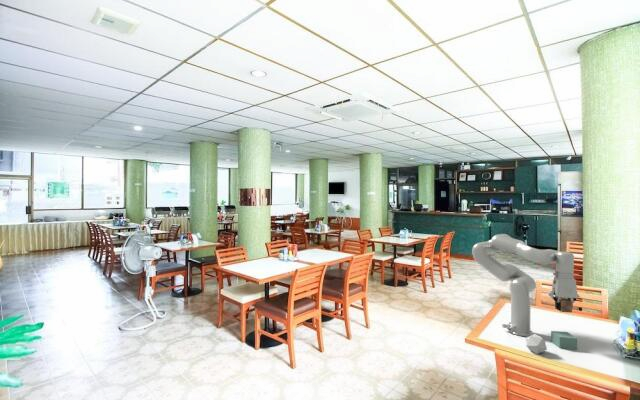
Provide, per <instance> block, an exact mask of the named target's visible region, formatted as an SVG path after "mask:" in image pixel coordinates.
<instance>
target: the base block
mask: <svg viewBox="0 0 640 400" xmlns="http://www.w3.org/2000/svg"><path fill="white" fill-rule="evenodd" d="M550 335H551V337H550V341H551V343H552V344H553V345H555V346H556V347H558V349H563V350H572V351H573V350H575V351H576V350H578V338H577V336H574V335H573V334H571V333H570V332H568V331H556V330H551V332H550Z"/></svg>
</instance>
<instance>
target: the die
mask: <svg viewBox="0 0 640 400" xmlns="http://www.w3.org/2000/svg"><path fill="white" fill-rule="evenodd" d="M524 340H525V346H526V347H527V349H528V350H529V351H531V352H532V353H533V354H535V355H538V354H541V353H542V352H546V351H547V344H546V340H544V338H543V337H541V336H540V335H537V334H536V333H534V334H533V335H531V336H529V337H525V338H524Z"/></svg>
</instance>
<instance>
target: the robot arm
mask: <svg viewBox="0 0 640 400" xmlns="http://www.w3.org/2000/svg"><path fill="white" fill-rule="evenodd" d="M500 251H504V252H508V253H511V254H514V255H517V256H519V257H521V258H523V259H525V260H527V261H530V262H533V263H535V264H536V263H537V264H539V265H544V266H545V265H551V264H555V272H553V273H552V276H554V278H553V281H552V286H551V290H550V292H549V293H548V296H549V297H550V298H551V299H552V300H553V301H554V308H555V309H556V310H557V309H558V310H557V311H559V310H560V307H561V303H560V299H561V298H567V299H569V300H571V301H572V309H574V308H573V305H574V303H575V301H577V300H578V299H579V298H580V294H578V285H577V281H576V278H574V273H575V272H574V271H575V268H574V267H575V265H574V263H575V255H574V253H572V252H568V251H558V250H555V249H551V248H550V249H548V248H547V249H538V248H535V247H532V246H530V245H527V244H526V243H525V242H524V241H523V240H520V239H516V238H514V237H511V235H509V234H506V233H500V234H495V235H493V236H492V237H491V239H490V240H486V241H481V242H476V243H475V244H474V245H473V246H472V249H471V253H472V257H473V259H474V261H475V262H476V263H477V264H478V265H480V266H481V267H482V268H484V269H485V270H486V271H487V272H489V273H490V274H491V275H493V276H494V277H495V278H497V279H498V280H500V281H501V282H503V283H506V282H509V281H510V283H509V292H510V321H508V323H507V324H504V323H502V324H501V326H502V327H501V328H505V329H507V331H508V332H509V333H511V335H512V334H513V335H516V336H519V337H525V338H527V337H529V336H531V335H533V334H535V333H534V331H533V330H531V297H530V293H531V292H534V291H535V290H536V288H537V282H536V281H535V280H534V278H533V277H531V276H530V275H529V274H527V273H526V272H524V271H523V270H521V269H520V268H519V267H517V266H515V265H513V264H510V263H507V264H503V263H501V262H500V261H498V259H495V258H494V257H493V256H491V255H493V254H495V253H498V252H500Z"/></svg>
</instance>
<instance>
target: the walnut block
mask: <svg viewBox="0 0 640 400" xmlns="http://www.w3.org/2000/svg"><path fill="white" fill-rule="evenodd" d="M560 303H561V307H560V310H558V309H556V311H559V312H561V313H573V308H572V301H571V300H569V299H567V298H561V299H560Z"/></svg>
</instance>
